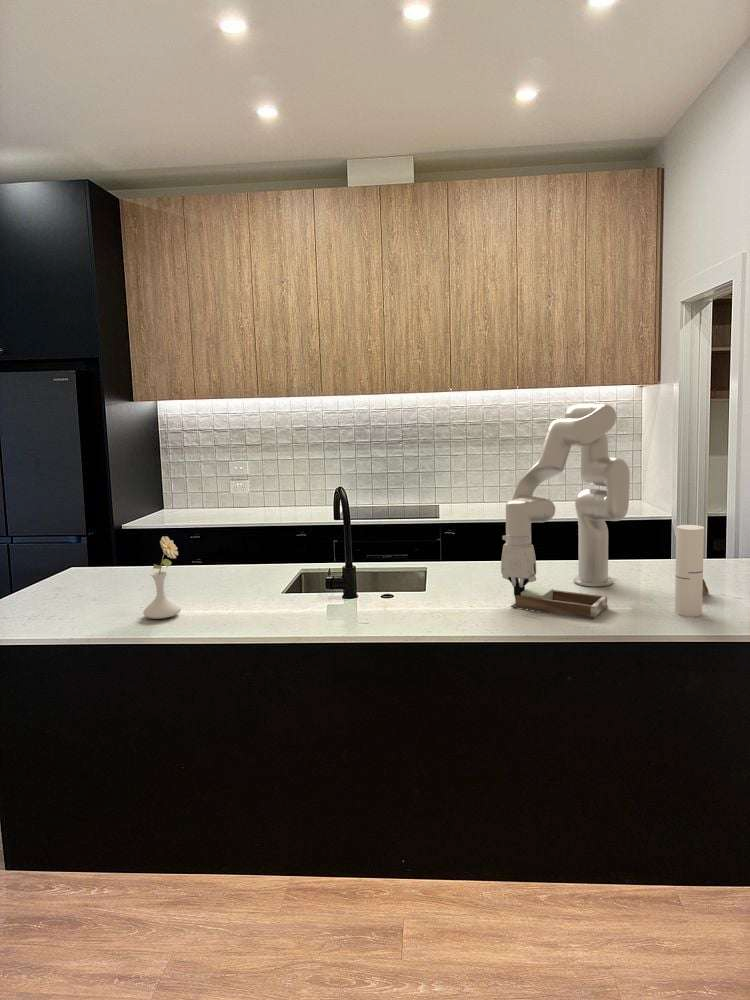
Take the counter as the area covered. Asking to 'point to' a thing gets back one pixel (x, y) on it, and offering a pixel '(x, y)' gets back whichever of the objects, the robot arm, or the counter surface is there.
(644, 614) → the counter surface
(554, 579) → the counter surface
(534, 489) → the robot arm
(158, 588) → the flower in vase
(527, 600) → the brown wooden tray
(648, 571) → the counter surface
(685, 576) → the cylindrical container
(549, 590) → the sage block
